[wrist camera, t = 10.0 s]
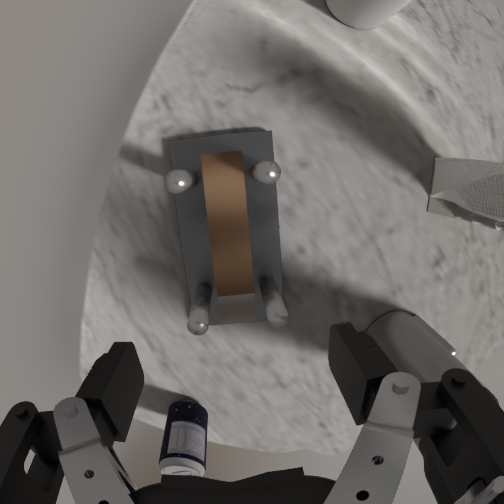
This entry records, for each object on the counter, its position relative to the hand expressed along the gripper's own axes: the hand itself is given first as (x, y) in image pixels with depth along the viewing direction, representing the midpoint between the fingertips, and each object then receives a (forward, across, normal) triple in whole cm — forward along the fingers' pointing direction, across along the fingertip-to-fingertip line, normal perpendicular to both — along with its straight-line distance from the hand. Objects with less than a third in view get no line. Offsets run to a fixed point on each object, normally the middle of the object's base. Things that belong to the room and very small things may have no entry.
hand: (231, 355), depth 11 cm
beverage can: (+20, +9, +24) cm, 33 cm away
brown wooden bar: (+19, 0, 0) cm, 19 cm away
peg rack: (+20, 0, -1) cm, 20 cm away
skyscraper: (+21, -28, -5) cm, 35 cm away
